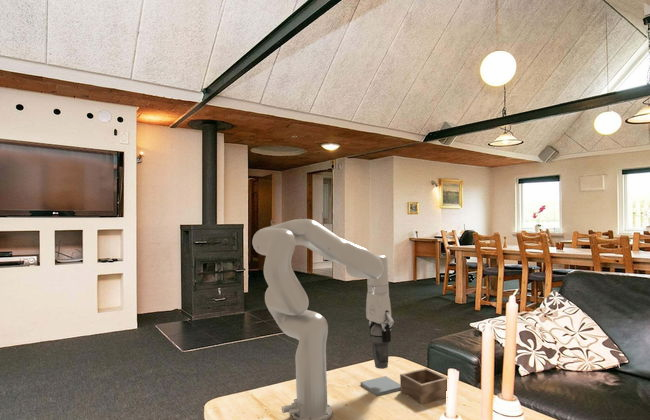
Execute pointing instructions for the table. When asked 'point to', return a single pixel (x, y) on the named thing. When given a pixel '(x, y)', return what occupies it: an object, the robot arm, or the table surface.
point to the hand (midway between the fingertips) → (380, 338)
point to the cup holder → (423, 385)
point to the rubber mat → (381, 385)
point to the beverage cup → (379, 347)
